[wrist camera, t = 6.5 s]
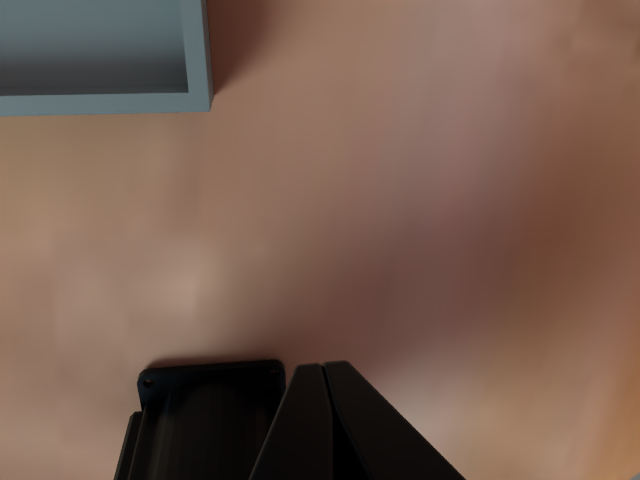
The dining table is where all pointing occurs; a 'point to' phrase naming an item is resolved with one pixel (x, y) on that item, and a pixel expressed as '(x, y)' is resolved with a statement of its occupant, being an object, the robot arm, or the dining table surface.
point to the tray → (104, 57)
